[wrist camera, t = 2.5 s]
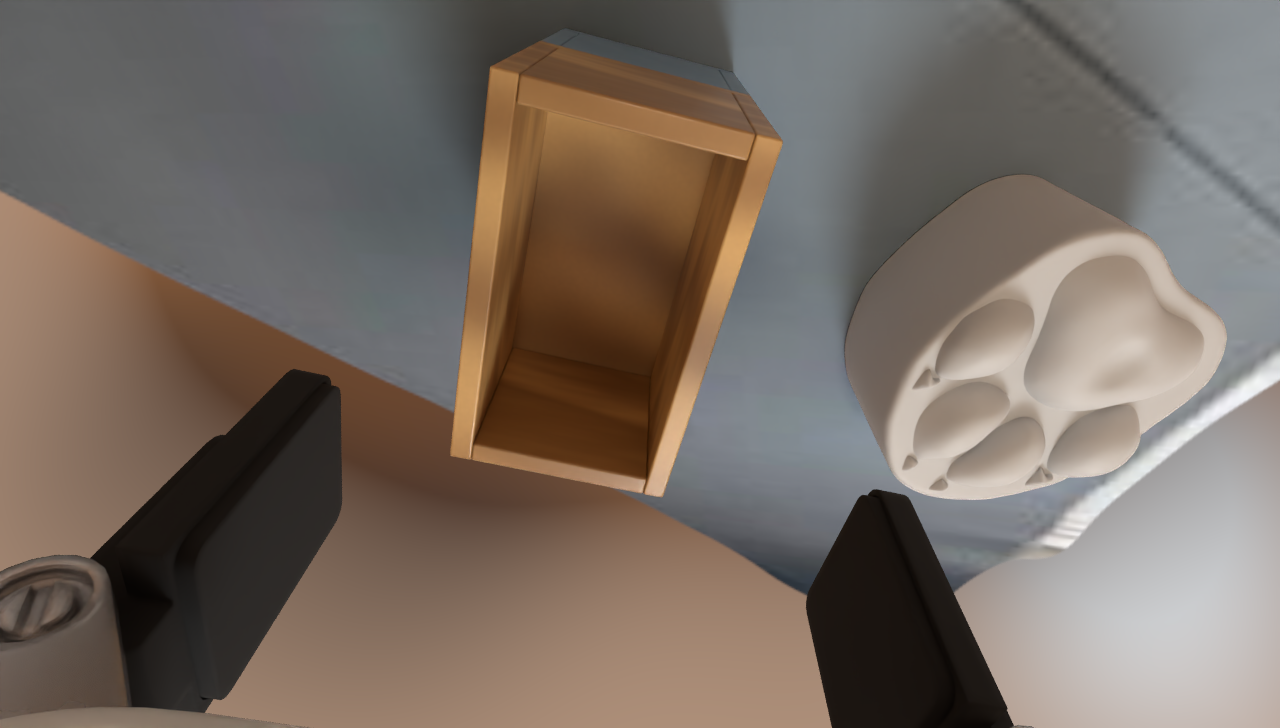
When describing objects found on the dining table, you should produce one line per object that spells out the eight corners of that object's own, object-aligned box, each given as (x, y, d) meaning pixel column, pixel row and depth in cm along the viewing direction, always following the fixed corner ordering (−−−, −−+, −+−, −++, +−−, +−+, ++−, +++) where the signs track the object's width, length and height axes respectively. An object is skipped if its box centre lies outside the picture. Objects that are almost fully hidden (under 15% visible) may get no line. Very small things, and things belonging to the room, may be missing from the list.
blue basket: (663, 321, 33) (663, 385, 28) (523, 290, 32) (496, 349, 27) (734, 72, 27) (750, 95, 22) (563, 27, 26) (539, 39, 21)
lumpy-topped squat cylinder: (1143, 285, 31) (1294, 382, 24) (923, 447, 36) (990, 568, 29) (1014, 143, 28) (1141, 203, 20) (794, 343, 33) (831, 449, 26)
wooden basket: (663, 385, 28) (662, 498, 22) (496, 349, 27) (449, 456, 21) (750, 95, 22) (784, 140, 16) (539, 39, 21) (489, 65, 15)
